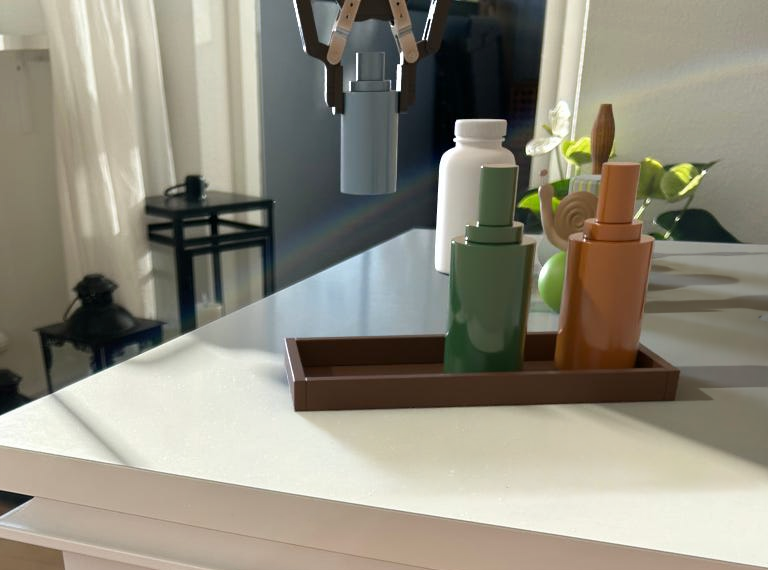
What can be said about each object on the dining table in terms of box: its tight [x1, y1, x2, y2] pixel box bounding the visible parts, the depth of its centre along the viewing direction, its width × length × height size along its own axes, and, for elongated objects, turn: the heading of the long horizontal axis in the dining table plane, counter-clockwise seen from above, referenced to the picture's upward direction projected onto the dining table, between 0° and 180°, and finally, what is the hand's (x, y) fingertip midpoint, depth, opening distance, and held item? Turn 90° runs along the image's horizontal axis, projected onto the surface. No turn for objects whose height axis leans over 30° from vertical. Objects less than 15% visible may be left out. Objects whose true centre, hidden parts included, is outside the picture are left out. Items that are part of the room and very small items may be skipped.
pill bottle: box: [434, 118, 516, 275], centre depth 110 cm, size 8×8×15 cm
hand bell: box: [589, 103, 616, 175], centre depth 117 cm, size 8×8×16 cm
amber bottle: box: [553, 161, 656, 371], centre depth 70 cm, size 6×6×14 cm
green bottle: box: [443, 164, 537, 374], centre depth 69 cm, size 6×6×14 cm
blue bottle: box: [340, 51, 399, 196], centre depth 90 cm, size 5×5×11 cm
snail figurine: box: [537, 168, 598, 313], centre depth 93 cm, size 5×6×12 cm
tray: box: [283, 330, 681, 413], centre depth 73 cm, size 26×12×3 cm, turn 93°
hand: (370, 112), depth 89 cm, fingers closed on blue bottle, 5 cm apart
